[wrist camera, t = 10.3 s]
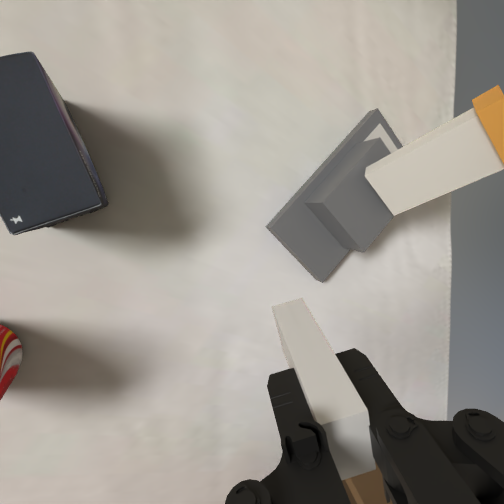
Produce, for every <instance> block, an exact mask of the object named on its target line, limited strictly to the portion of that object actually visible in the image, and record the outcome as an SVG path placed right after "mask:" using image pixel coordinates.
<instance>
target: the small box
mask: <svg viewBox="0 0 504 504" xmlns="http://www.w3.org/2000/svg"><path fill="white" fill-rule="evenodd" d="M106 206H108V201H107V198H106V195H105V192H104V189H103V187H102V184H101V182H100V180H99V177H98V175H97V172H96V170H95V168H94V165H93V163H92V161H91V158H90V156H89V154H88V151H87V149H86V146H85V144H84V142H83V140H82V138H81V135H80V133H79V131H78V129H77V127H76V125H75V122H74V120H73V118H72V116H71V114H70V112H69V110H68V108H67V106H66V104H65V102H64V101H63V99H62V97H61V96H60V94H59V92H58V91H57V89H56V87H55V86H54V84H53V82H52V81H51V79H50V78H49V76H48V75H47V73H46V71H45V70H44V68H43V67H42V65H41V63H40V62H39V60H38V59H37V57H36V56H35V54H34V53H33V52H24V53H17V54H12V55H6V56H2V57H0V216H1V218H2V220H3V221H4V223H5V225H6V227H7V229H8V231H9V233H10V234H12V235H18V234H20V233H23V232H28V231H32V230H36V229H40V228H44V227H50V226H54V225H56V224H57V223H60V222H64V221H67V220H69V219H72V218H74V217H77V216H81V215H83V214H86V213H92V212H94V211H96V210H99V209H101V208H103V207H106Z"/></svg>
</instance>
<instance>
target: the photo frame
mask: <svg viewBox="0 0 504 504" xmlns="http://www.w3.org/2000/svg"><path fill="white" fill-rule="evenodd" d="M375 466H376V469H375V470H372V471H369V472H366V473H363V474H360V475H357V476H354V477H351V478H348V479H345V480H342V483H343V485H344V488H345V490H346V493H347V495H348V497H349V500H350V502H351V504H393V503H392V501H391V499H390V502H389V503H387V501H386V498H385V494H384V486H383V478H382V473H381V471H380V469H379V467H378V465H377V463H376V461H375Z"/></svg>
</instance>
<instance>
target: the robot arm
mask: <svg viewBox="0 0 504 504" xmlns="http://www.w3.org/2000/svg"><path fill="white" fill-rule="evenodd" d="M272 309H273V313H274V317H275V321H276V325H277V329H278V333H279V337H280V341H281V345H282V349H283V352H284V355H285V358H286V360H287V363H288V366H289V368H290V369H287V370H284V371H281V372H278V373H274V374H271V375H270V376H269V380H268V385H267V388H268V391H269V395H270V399H271V403H272V407H273V411H274V415H275V418H276V422H277V426H278V430H279V434H280V438H281V446H282V450H283V453H282V458H281V461H280V463H279V465H278V466H277V468H276V469H275V470H274V471H273V472H272V473H271V474H270V475H268V476H267V477H266V478H264V479H263V480H262V481H260V482H259V481H257V480H251V479H249V480H245V481H241V482H240V483H238V484H237V485H236V486H234V487H233V488H232V490H231V491H230V493H229V494H228V495H227V498H226V502H225V504H351V502H350V500H349V497H348V495H347V493H346V490H345V488H344V485H343V483H342V480H345V479H348V478H351V477H354V476H357V475H360V474H363V473H366V472H369V471H372V470H375V469H376V466H375V461H376V463H377V465H378V467H379V469H380V471H381V473H382V478H383V486H384V494H385V498H386V501H387V503H389V502H390V499H391V501H392V503H393V504H504V422H502V421H501V420H500V419H498V418H497V417H495V416H493V415H492V414H490V413H488V412H486V411H482V410H478V409H464V410H461V411H459V412H458V413H457V414H456V415H455V416H454V417H453V421H430V420H424V419H420V418H417V417H415V416H414V415H413V414H411V413H409V412H407V411H406V410H405V409H404V408H403V407H402V406H401V405H400V403H399V402H398V400H397V399H396V398H395V396H394V395H393V393H392V392H391V391H390V389H389V388H388V386H387V385H386V383H385V382H384V381H383V379H382V378H381V376H380V375H379V374H378V372H377V371H376V369H375V368H374V367H373V365H372V364H371V362H370V361H369V360H368V358H367V357H366V355H364V354H363V353H361V352H360V351H358V350H356V349H355V348H354V349H350V350H347V351H344V352H341V353H337V354H335V353H334V351H333V350H332V348H331V346H330V344H329V343H328V341H327V339H326V338H325V336H324V334H323V333H322V331H321V329H320V327H319V326H318V324H317V322H316V321H315V319H314V317H313V315H312V314H311V312H310V310H309V309H308V307H307V305H306V303H305V302H304V300H303V298H300V299H296V300H293V301H290V302H286V303H283V304H279V305H276V306H273V307H272Z"/></svg>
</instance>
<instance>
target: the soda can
mask: <svg viewBox="0 0 504 504" xmlns="http://www.w3.org/2000/svg"><path fill="white" fill-rule="evenodd" d="M22 356H23V350H22V345H21V343H20V341H19V339H18V337H17V336H16V335H15V334H14V333H13V332H12V331H11V330H9V329H8V328H7V327H5V326H3V325H0V400H1V399H2V397H3V395H4V394H5V392H6V391H7V389H8V388H9V386H10V384H11V383H12V381H13V379H14V378H15V376H16V374H17V372H18V369H19V367H20V364H21V361H22Z"/></svg>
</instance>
